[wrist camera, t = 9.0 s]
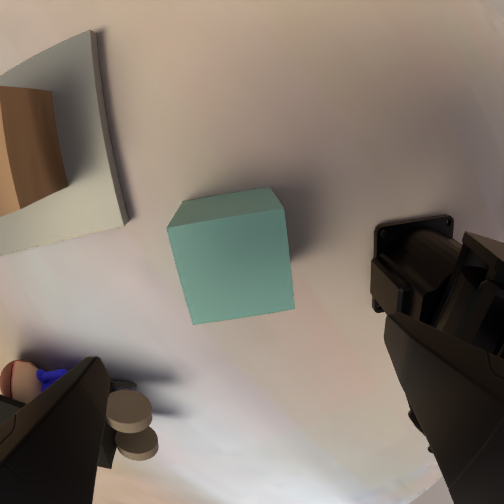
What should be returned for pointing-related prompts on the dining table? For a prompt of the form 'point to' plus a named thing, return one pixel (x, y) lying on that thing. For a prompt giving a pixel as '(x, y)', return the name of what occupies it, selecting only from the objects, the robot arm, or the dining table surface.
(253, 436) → the dining table surface
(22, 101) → the walnut block
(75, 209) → the base plate
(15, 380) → the figurine character
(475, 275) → the robot arm
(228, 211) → the teal block
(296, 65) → the dining table surface
